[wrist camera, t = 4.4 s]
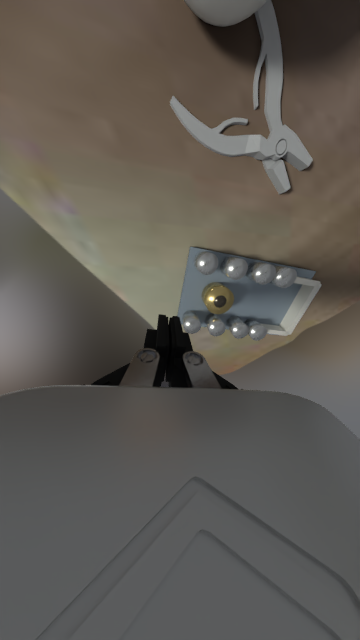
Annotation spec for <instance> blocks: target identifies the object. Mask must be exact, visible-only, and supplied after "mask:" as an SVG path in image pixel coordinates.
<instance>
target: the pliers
mask: <svg viewBox="0 0 360 640" xmlns="http://www.w3.org/2000/svg"><path fill="white" fill-rule="evenodd" d="M255 17H256V21H257V24H258V28H259V33H260V37H261V41H262V43H261V51H260V56H259V59H258V63H257V66H256V70H255V76H254V83H253V102H254V110H255V109H256V108H257V107H258V80H259V74H260V69H261V66H262V63H263V61H264V59H265V66H266V92H265V108H264V112H265V116H266V119H267V123H268V126H269V130H270V135H269V137H268V139H266V138H264V137H263V136H262V135H241V136H225V135H222V134H220V133H221V131H222V130H223V129H224V128H226V127H228V126H230V125H235V124H240V125H245V126H246V124H247V122H248V119H244V118H231V119H229V120H226V121H224V122H223V123H221V124H220V125H219V126H217V127H216V128H213V129H210V128H209V127H207V126H206V125H204V124H203V123H202V122H200V121H199V120H197V119H196V118H195V117H194V116H193V115H192V114H191V113H190V112H189V111H188V110H187V109H186V108H184V107H183V106H182V105H181V104H180V103H179V101H178V100H177V99H176V98H175V97H174V96H173V97H172V99H171V101H170V105H171V107H172V109H173V110H174V112H175V114H176V115H177V117H178V119H179V120H180V121H181V123H182V124H183V126H184V127H185V128H186V129H187V131H188V132H189V133H190V134H191V135H192V136H193V137H194V138H195V139H196V140H197V141H198V142H199V143H201V144H202V145H204V146H205V147H206V148H208V149H210V150H212V151H213V152H215V153H218V154H220V155H223V156H229V157H235V156H242V155H245V156H250V157H254V158H255V159H258V160H262V162H263V165H264V168H265V171H266V173H267V175H268V176H269V178H270V180H271V181H272V183H273V185H274V186H275V188H276V190H277V191H278V193H279V194H282V193H284V192H286V191H287V190H289V189H290V188H291V187H290V183H289V180H288V176H287V172H286V169H285V165H284V161H283V160H278V159H280V158H283V159H284V160H286V161H287V162H288V163H290V164H291V165H292V166H294V167H295V168H296V169H298V170H299V171H301V170H303V169H305V168H307V167H309V165H310V164H311V162H312V160H313V159H312V158H311V156H310V155H309V153H308V151H307V150H306V148H305V147H304V145H303V144H302V142H301V141H300V139H299V138H298V136H297V135H296V133H294V132H293V131H292V130H291V129H290V128H288V127H287V126H286V125H284V126H283V125H282V122H281V112H280V99H281V91H282V83H283V58H282V49H281V41H280V35H279V29H278V24H277V20H276V15H275V11H274V7H273V4H272V1H271V0H267V1H266V2H265V3H264V4H263V6H262V7H261V8H260V9H258V10H257V11H256V12H255Z"/></svg>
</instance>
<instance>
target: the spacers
mask: <svg viewBox="0 0 360 640" xmlns="http://www.w3.org/2000/svg"><path fill="white" fill-rule="evenodd" d="M194 266H195V268H196V269H197V270H198V271H199V272H201V273H202V274H204V275H210V274H212V273H214V272H215V271H216V269H217V267H218V258H217V256H216V255H215V254H213V253H210V252H206V251H201V252H199V253H197V254H196V256H195V257H194ZM220 270H221V272H222V273H223V274H224V275H226V276H228V277H229V278H231V279H233V280H239V279H241V278H243V277H244V276H245V275H246V277H247V278H248V279H250V280H252V281H255V282H257V283H259V284H262V285H264V284H267V283H271V284H273V285H276V286H278V287H281V288H287V287H289V286H291V285H292V284H293V283H294V282H295V280H296V278H297V272H296V270H294V269H292V268H287V267H283V266H278V265H271V264H267V263H262V262H257V261H255V262H252V263H250V264H249V265H248V264H247V262H246V261H245V260H244V259H241V258H236V257H232V256H230V257H226V258H225V259H224V260H223V261H222V262H221V265H220ZM182 320H183V325H184V329H185V331H186V332H187V333H191V334H193V333H196V332H198V331H199V330H200V328H201V323H200V321H199V318H198V316H197V314H196V312H194V311H192V310H189V311H186V312H185V313H184V314H183V316H182ZM205 324H206V326H207V328H208V330H209V332H210V334H211V335H213V336H219V335H221V334H223V333H224V331H225V329H226V327H225V325H224V323H223V322H222V320H221V319H220V317H219V316H218V315H217V314H213V313H212V314H209V315H207V316H206V318H205ZM226 326H227V327H228V329H229V330H230V332H231V333H232V334H233V336H234V337H235V338H243V337H245V336H246V335H247V334H248V335H249V336H250V337H251V338H252V339H253V340H260V339H262V338H264V337H265V336H266V334H267V330H266V328H264V327H263V326H262V325H261V324H260V323H259V322H258V321H256V320H255V319H253V318H250V319H247V320H246V321H245V322H243V321H242V320H241V319H240V318H239V317H237V316H233V317H230V318H229V319H228V320H227V322H226Z"/></svg>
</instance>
